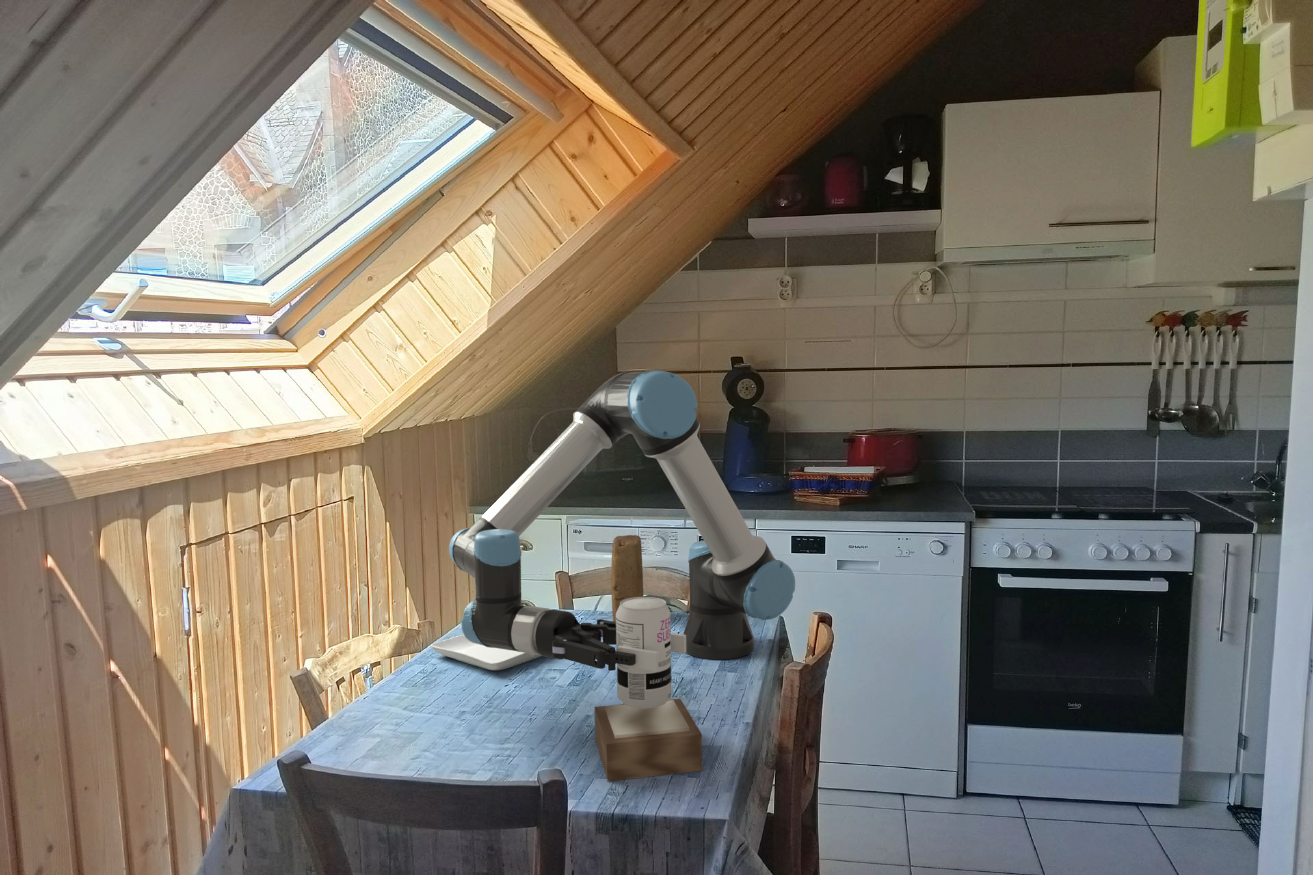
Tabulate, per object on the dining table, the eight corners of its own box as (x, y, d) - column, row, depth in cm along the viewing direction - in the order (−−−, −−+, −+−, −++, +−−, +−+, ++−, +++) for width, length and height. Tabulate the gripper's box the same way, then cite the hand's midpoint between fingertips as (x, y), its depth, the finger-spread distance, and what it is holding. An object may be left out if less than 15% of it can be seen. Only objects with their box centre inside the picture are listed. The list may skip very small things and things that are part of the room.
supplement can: (615, 691, 133) (614, 597, 132) (668, 688, 134) (666, 594, 133) (619, 711, 125) (617, 611, 124) (675, 708, 126) (673, 608, 125)
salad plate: (506, 634, 194) (505, 619, 193) (572, 652, 180) (572, 636, 180) (428, 659, 177) (427, 643, 177) (494, 681, 164) (494, 663, 164)
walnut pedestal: (681, 731, 138) (680, 695, 138) (702, 770, 125) (701, 730, 124) (595, 740, 136) (594, 703, 135) (607, 781, 122) (606, 740, 121)
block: (643, 627, 196) (642, 541, 194) (611, 627, 196) (609, 541, 194) (645, 613, 207) (643, 532, 205) (614, 614, 207) (612, 532, 205)
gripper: (583, 637, 147) (702, 656, 136) (506, 675, 128) (636, 701, 118) (582, 594, 146) (701, 610, 135) (504, 626, 128) (635, 648, 117)
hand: (671, 652), depth 127 cm, fingers closed on supplement can, 8 cm apart
